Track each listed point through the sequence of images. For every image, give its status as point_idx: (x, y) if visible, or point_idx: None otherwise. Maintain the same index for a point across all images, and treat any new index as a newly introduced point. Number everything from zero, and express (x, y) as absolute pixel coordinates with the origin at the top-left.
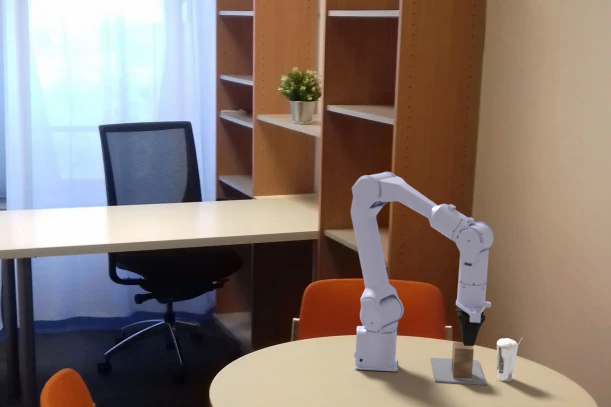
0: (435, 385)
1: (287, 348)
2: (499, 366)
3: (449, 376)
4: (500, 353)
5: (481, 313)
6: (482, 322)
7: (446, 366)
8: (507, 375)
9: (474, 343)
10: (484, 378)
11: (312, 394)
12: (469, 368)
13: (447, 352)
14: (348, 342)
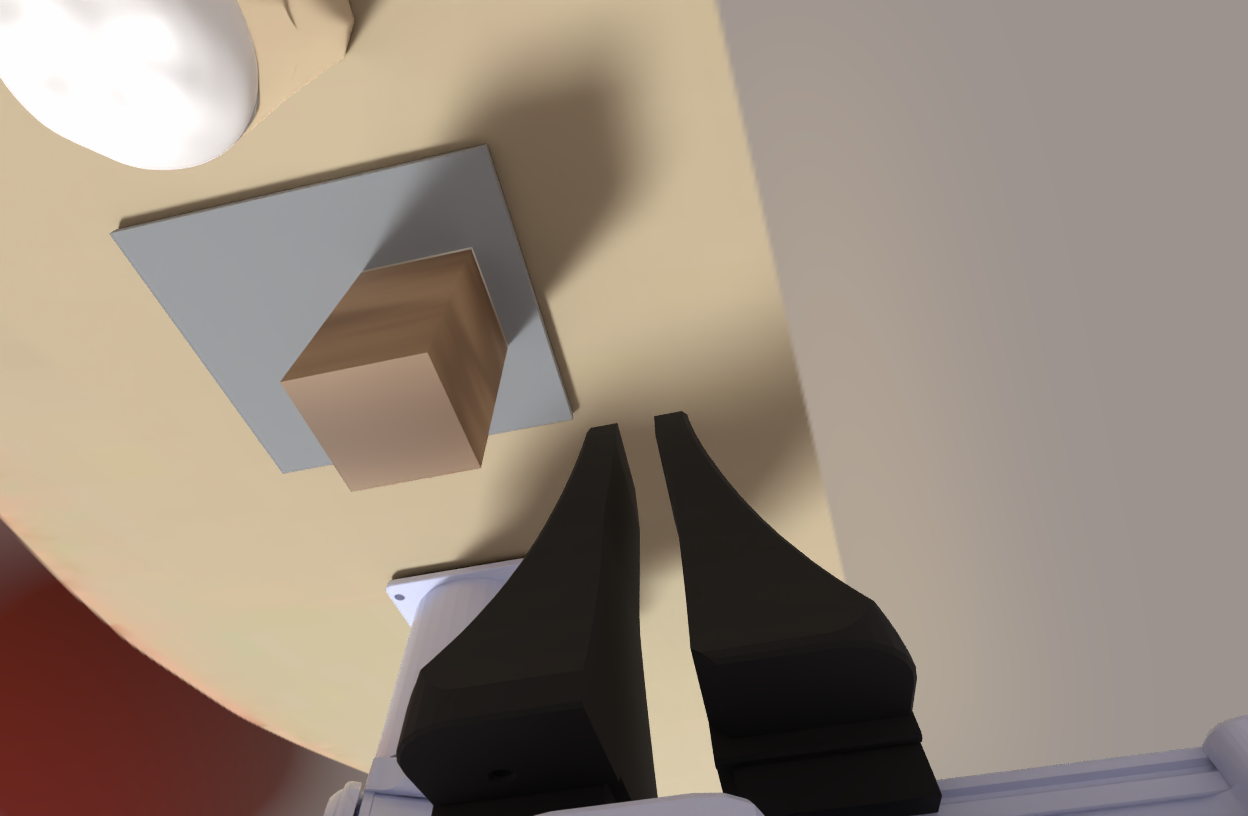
0: (611, 407)
1: None
2: (313, 76)
3: None
4: (275, 99)
5: (592, 683)
6: (850, 589)
7: None
8: None
9: (689, 424)
10: (408, 167)
11: None
12: (466, 296)
13: (116, 408)
14: (329, 712)
